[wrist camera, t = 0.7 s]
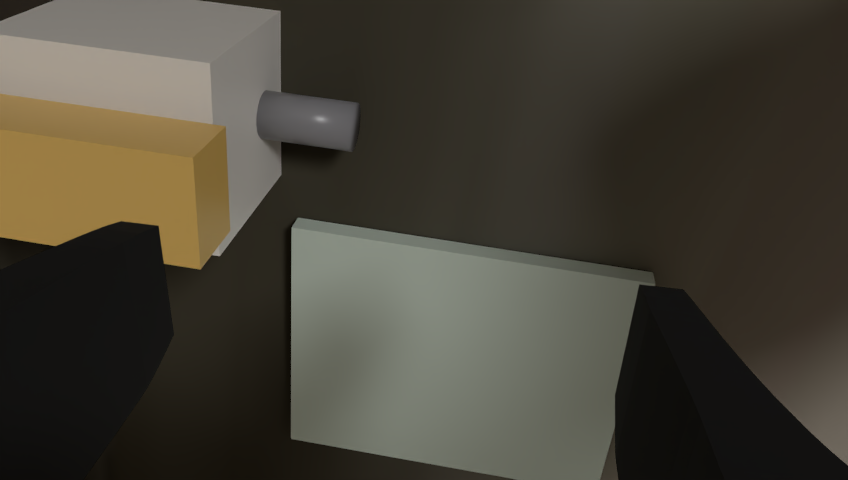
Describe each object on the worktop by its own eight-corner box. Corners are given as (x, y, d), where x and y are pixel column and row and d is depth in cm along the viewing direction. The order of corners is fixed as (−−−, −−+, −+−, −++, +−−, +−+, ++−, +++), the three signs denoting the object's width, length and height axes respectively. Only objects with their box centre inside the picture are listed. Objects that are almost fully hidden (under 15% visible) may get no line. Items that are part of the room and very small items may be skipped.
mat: (653, 272, 21) (655, 283, 21) (595, 479, 25) (595, 493, 25) (297, 217, 22) (291, 227, 22) (296, 426, 26) (290, 438, 26)
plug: (371, 22, 19) (322, 78, 15) (362, 185, 21) (318, 272, 17) (91, -15, 20) (-25, 31, 16) (111, 148, 22) (13, 223, 18)
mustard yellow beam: (225, 126, 15) (192, 158, 14) (230, 231, 17) (200, 269, 15) (-189, 66, 16) (-258, 90, 15) (-156, 170, 17) (-217, 201, 16)
